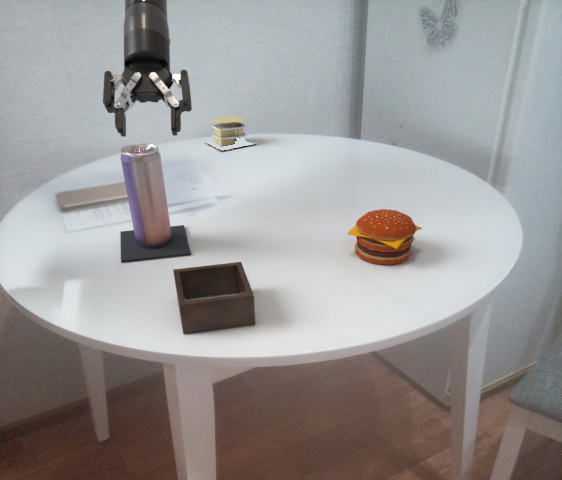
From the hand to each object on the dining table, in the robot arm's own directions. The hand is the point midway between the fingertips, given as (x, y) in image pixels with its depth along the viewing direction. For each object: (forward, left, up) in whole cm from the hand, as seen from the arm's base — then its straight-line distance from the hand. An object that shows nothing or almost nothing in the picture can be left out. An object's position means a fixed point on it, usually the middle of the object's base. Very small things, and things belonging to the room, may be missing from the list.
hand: (148, 133), depth 92 cm
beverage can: (-2, -10, -15) cm, 18 cm away
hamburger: (+34, -22, -15) cm, 43 cm away
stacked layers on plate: (+19, +41, -15) cm, 47 cm away
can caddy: (+5, -33, -15) cm, 37 cm away
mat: (-2, -10, -15) cm, 18 cm away
